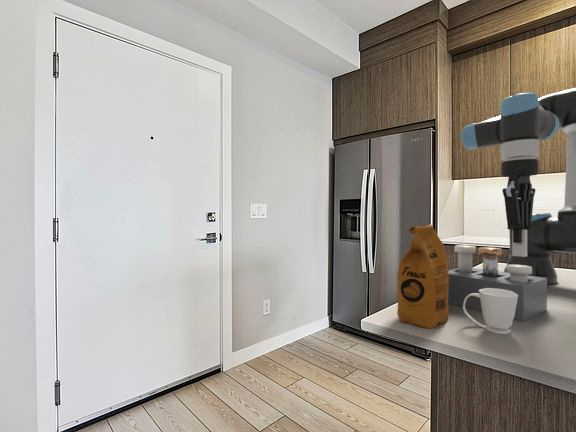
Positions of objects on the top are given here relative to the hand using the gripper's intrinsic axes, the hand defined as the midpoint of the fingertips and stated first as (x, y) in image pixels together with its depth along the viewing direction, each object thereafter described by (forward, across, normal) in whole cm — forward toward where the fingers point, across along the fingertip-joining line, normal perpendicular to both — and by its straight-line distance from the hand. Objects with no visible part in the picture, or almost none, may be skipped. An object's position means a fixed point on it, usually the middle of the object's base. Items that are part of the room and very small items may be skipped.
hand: (519, 255), depth 79 cm
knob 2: (+11, +1, 0) cm, 11 cm away
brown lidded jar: (+7, 0, -6) cm, 10 cm away
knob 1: (+7, 0, -13) cm, 15 cm away
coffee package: (+14, +24, -11) cm, 30 cm away
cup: (+14, +18, +1) cm, 23 cm away
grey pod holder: (+14, +1, -6) cm, 15 cm away
